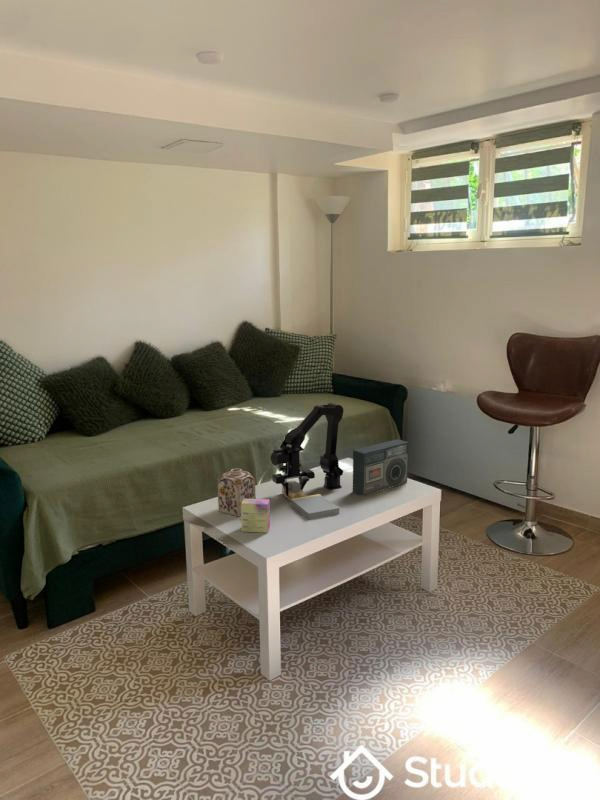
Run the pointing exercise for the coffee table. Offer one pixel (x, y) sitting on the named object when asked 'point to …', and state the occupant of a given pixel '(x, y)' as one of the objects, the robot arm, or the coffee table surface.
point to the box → (255, 515)
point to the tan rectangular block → (293, 494)
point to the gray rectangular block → (294, 486)
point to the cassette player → (380, 466)
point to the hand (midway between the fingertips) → (293, 494)
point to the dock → (314, 506)
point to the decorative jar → (235, 491)
